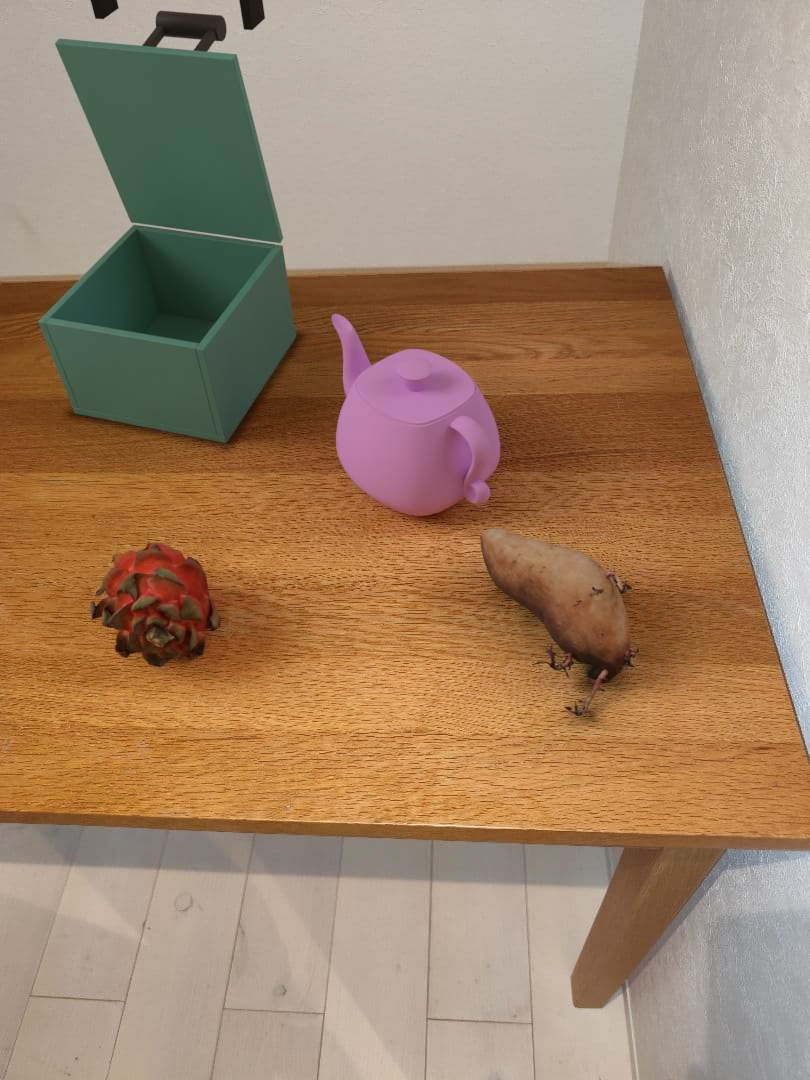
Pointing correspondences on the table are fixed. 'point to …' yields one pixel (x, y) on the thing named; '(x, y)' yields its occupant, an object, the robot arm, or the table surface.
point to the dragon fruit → (157, 604)
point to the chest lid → (176, 129)
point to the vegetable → (565, 602)
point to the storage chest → (173, 331)
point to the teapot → (413, 429)
